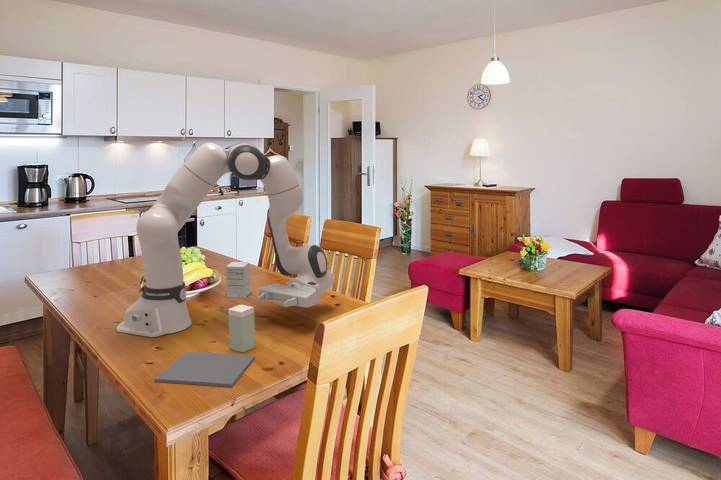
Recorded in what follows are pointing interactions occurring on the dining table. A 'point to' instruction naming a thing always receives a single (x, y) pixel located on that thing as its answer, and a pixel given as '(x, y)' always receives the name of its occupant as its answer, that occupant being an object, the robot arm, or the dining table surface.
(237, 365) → the rubber mat
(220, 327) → the dining table surface
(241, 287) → the supplement box
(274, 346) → the dining table surface
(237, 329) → the sage block
